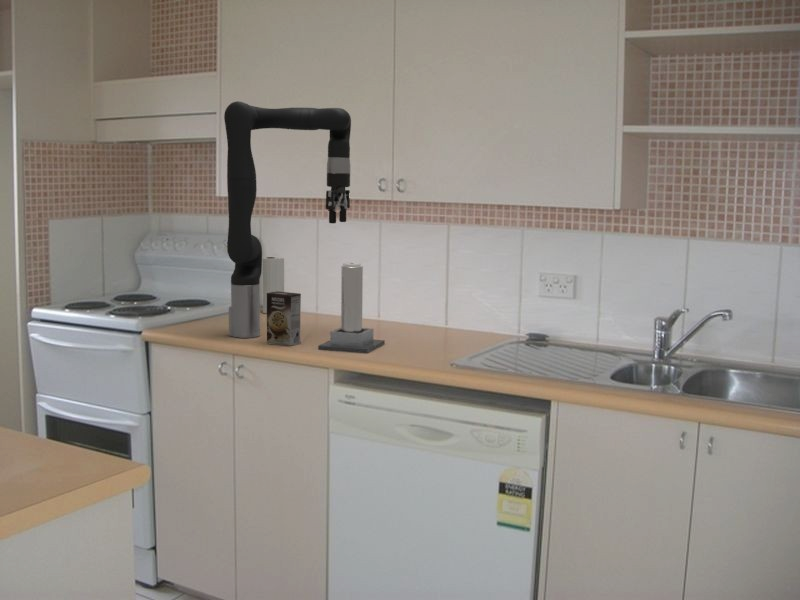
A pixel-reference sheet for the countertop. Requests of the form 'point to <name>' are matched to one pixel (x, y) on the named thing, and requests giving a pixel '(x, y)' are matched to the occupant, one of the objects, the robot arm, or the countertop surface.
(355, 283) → the silver metal cylinder
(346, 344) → the board
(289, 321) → the coffee box
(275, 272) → the paper towel roll
